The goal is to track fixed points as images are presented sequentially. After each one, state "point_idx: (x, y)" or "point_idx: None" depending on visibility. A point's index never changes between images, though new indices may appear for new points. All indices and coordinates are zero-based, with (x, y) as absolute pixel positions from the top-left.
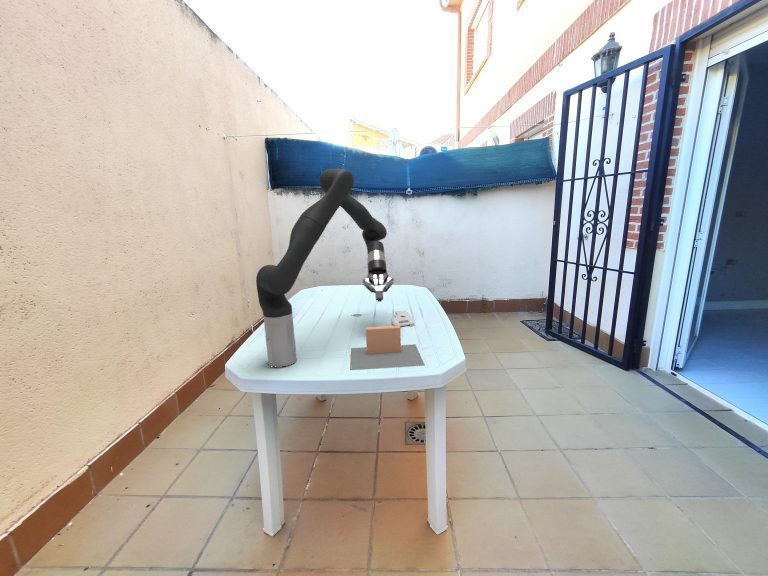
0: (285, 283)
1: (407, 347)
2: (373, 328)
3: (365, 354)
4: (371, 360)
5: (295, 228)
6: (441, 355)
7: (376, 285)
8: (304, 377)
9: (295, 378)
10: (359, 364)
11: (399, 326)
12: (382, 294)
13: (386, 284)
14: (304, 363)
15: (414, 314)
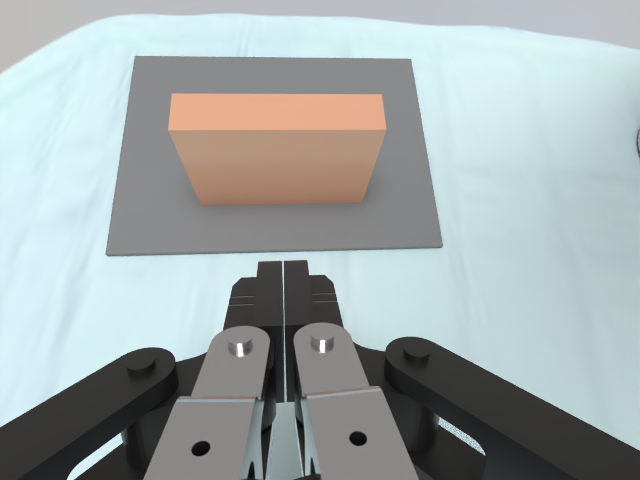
0: None
1: (159, 220)
2: (337, 105)
3: None
4: None
5: None
6: (29, 135)
7: (334, 394)
8: (550, 46)
9: (576, 44)
10: (381, 90)
11: (172, 112)
12: (236, 308)
13: (87, 426)
14: (597, 136)
15: None
